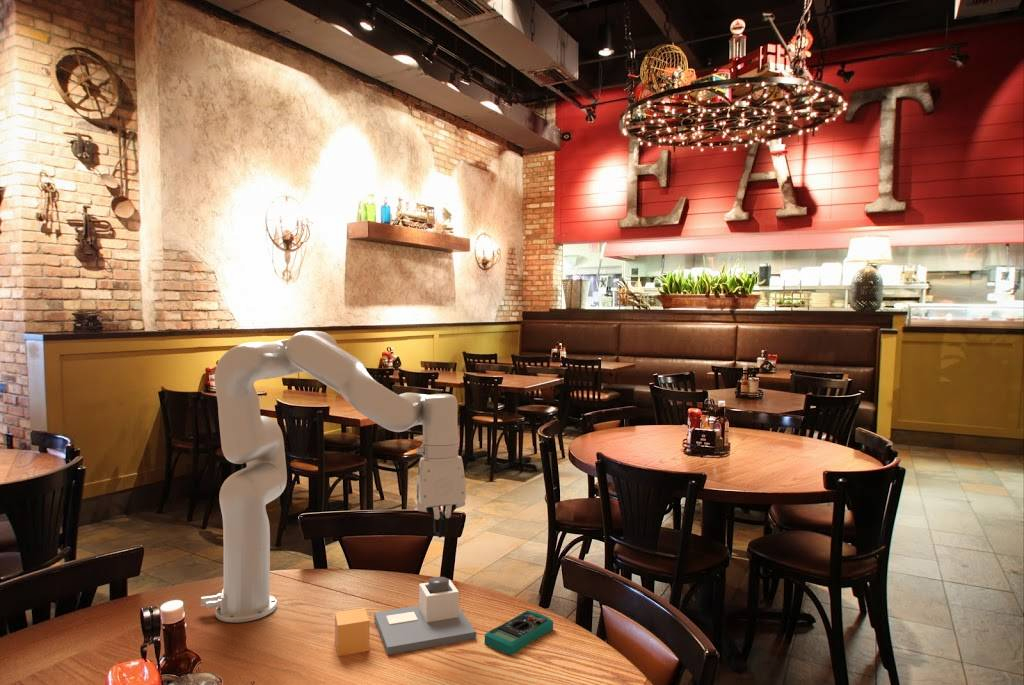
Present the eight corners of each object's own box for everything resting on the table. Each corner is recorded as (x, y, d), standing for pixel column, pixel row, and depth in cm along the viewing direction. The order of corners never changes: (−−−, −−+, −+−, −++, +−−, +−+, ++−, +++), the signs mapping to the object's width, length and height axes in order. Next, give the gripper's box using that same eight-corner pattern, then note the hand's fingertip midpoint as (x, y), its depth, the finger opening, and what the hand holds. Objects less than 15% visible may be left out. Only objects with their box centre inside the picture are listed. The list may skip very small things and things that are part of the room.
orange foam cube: (337, 656, 118) (337, 625, 118) (334, 641, 124) (334, 612, 124) (369, 650, 121) (369, 620, 121) (364, 636, 126) (365, 607, 126)
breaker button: (431, 604, 131) (431, 586, 131) (426, 596, 135) (426, 578, 135) (451, 601, 133) (451, 583, 133) (445, 593, 137) (445, 575, 137)
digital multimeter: (555, 630, 130) (555, 617, 130) (510, 658, 119) (511, 643, 119) (528, 620, 135) (528, 607, 135) (482, 646, 124) (482, 631, 124)
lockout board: (387, 655, 119) (387, 619, 119) (374, 619, 134) (374, 587, 134) (475, 639, 126) (476, 605, 125) (454, 606, 140) (454, 576, 140)
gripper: (409, 457, 127) (410, 545, 127) (478, 451, 133) (479, 536, 133) (402, 450, 134) (403, 534, 134) (468, 446, 140) (468, 526, 140)
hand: (441, 535), depth 134 cm, fingers closed
